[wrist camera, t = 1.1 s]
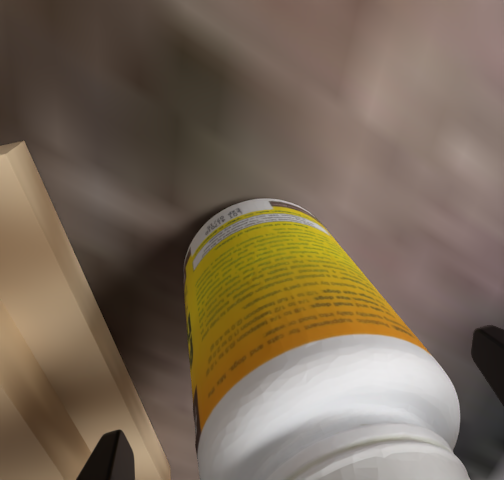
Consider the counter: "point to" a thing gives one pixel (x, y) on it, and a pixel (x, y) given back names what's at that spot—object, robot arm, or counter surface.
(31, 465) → the stand
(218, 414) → the supplement bottle
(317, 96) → the counter surface
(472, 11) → the counter surface
